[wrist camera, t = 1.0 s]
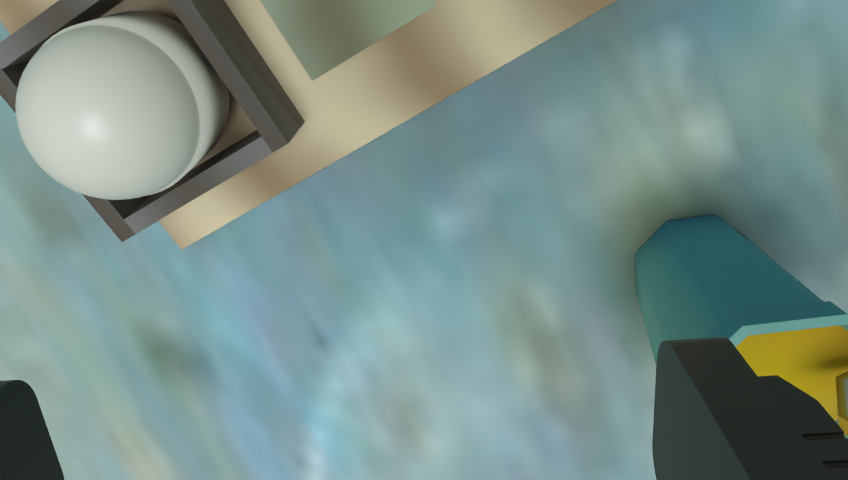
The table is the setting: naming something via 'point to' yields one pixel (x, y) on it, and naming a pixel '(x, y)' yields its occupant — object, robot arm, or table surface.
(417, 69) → the board
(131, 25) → the pale round cylinder
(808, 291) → the cup
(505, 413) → the table surface
